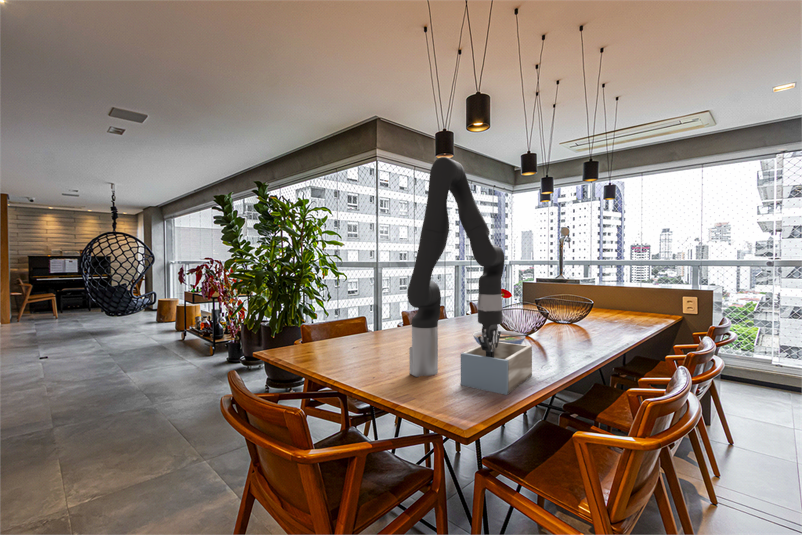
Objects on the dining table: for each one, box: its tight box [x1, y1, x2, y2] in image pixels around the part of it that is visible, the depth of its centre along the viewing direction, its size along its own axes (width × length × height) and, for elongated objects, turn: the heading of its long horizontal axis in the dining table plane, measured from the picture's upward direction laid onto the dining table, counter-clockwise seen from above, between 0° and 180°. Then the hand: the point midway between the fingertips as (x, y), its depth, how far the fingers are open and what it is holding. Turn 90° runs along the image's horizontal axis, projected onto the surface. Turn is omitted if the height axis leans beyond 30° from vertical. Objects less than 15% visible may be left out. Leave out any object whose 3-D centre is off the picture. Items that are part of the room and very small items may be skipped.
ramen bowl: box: [472, 329, 532, 346], centre depth 167 cm, size 25×23×8 cm
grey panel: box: [460, 352, 509, 396], centre depth 115 cm, size 15×1×11 cm, turn 54°
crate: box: [462, 342, 533, 395], centre depth 124 cm, size 15×22×11 cm
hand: (489, 362), depth 119 cm, fingers closed
